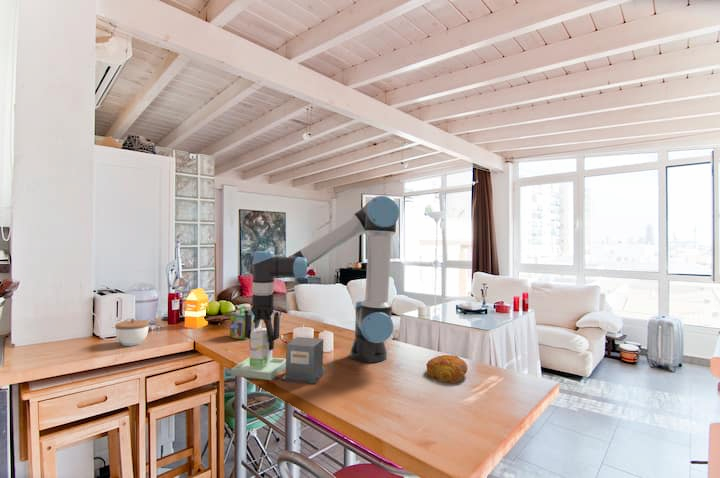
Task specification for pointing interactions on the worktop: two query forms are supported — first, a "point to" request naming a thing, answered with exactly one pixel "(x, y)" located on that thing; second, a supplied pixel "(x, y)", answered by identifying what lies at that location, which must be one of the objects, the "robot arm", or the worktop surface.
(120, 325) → the lidded bowl
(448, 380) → the brown rounded lump
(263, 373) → the tray
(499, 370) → the worktop surface
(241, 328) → the floral tea caddy
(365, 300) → the robot arm
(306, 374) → the unit
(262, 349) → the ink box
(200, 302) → the orange juice
